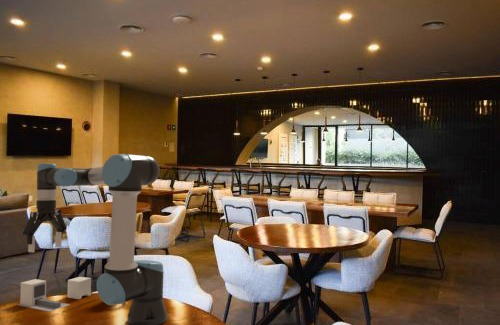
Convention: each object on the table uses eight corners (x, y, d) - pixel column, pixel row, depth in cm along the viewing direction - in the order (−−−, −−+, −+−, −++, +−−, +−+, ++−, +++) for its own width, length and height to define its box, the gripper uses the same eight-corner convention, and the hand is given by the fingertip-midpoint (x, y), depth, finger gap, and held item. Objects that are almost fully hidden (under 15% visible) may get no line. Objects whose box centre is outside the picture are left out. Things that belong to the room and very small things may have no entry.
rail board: (70, 307, 175) (70, 299, 175) (50, 314, 166) (50, 306, 166) (37, 301, 183) (37, 293, 183) (16, 307, 174) (17, 300, 174)
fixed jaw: (20, 303, 175) (20, 282, 176) (34, 299, 182) (35, 279, 182) (32, 306, 172) (32, 284, 173) (46, 301, 179) (47, 281, 179)
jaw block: (90, 297, 189) (91, 278, 189) (78, 302, 182) (79, 281, 183) (78, 295, 192) (78, 276, 192) (66, 299, 185) (66, 279, 186)
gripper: (63, 197, 187) (62, 244, 187) (13, 200, 164) (12, 253, 163) (75, 198, 184) (74, 245, 184) (26, 201, 161) (25, 255, 161)
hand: (45, 249), depth 174 cm, fingers open, 13 cm apart
